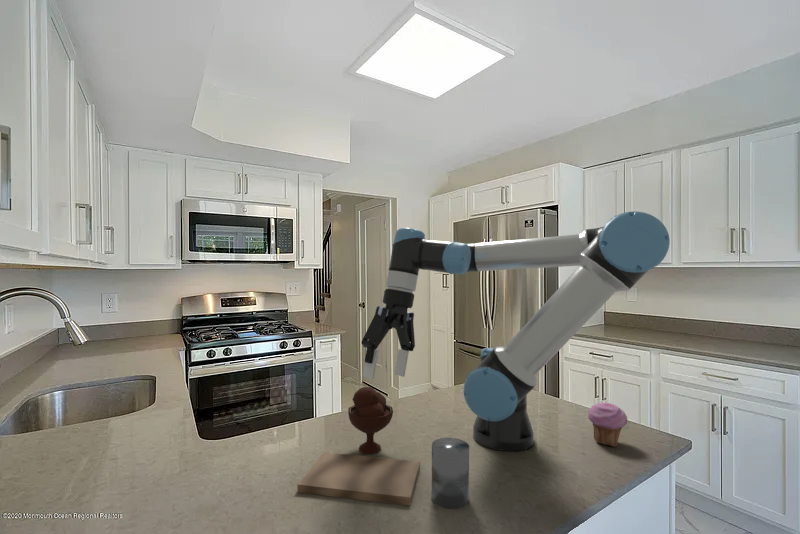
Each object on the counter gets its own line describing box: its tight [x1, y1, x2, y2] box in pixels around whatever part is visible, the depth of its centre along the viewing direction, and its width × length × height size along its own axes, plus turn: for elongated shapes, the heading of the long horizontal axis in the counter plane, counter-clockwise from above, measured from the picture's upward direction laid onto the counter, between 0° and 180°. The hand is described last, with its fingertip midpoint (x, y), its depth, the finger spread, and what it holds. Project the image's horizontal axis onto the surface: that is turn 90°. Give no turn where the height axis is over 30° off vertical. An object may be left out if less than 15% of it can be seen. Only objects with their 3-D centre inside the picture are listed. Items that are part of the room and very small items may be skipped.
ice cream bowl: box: [347, 386, 394, 455], centre depth 96 cm, size 11×11×15 cm
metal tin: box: [430, 436, 470, 510], centre depth 76 cm, size 7×7×10 cm
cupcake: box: [587, 402, 628, 448], centre depth 101 cm, size 9×9×10 cm
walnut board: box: [296, 451, 421, 507], centre depth 82 cm, size 22×14×2 cm, turn 80°
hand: (384, 376), depth 97 cm, fingers open, 13 cm apart
